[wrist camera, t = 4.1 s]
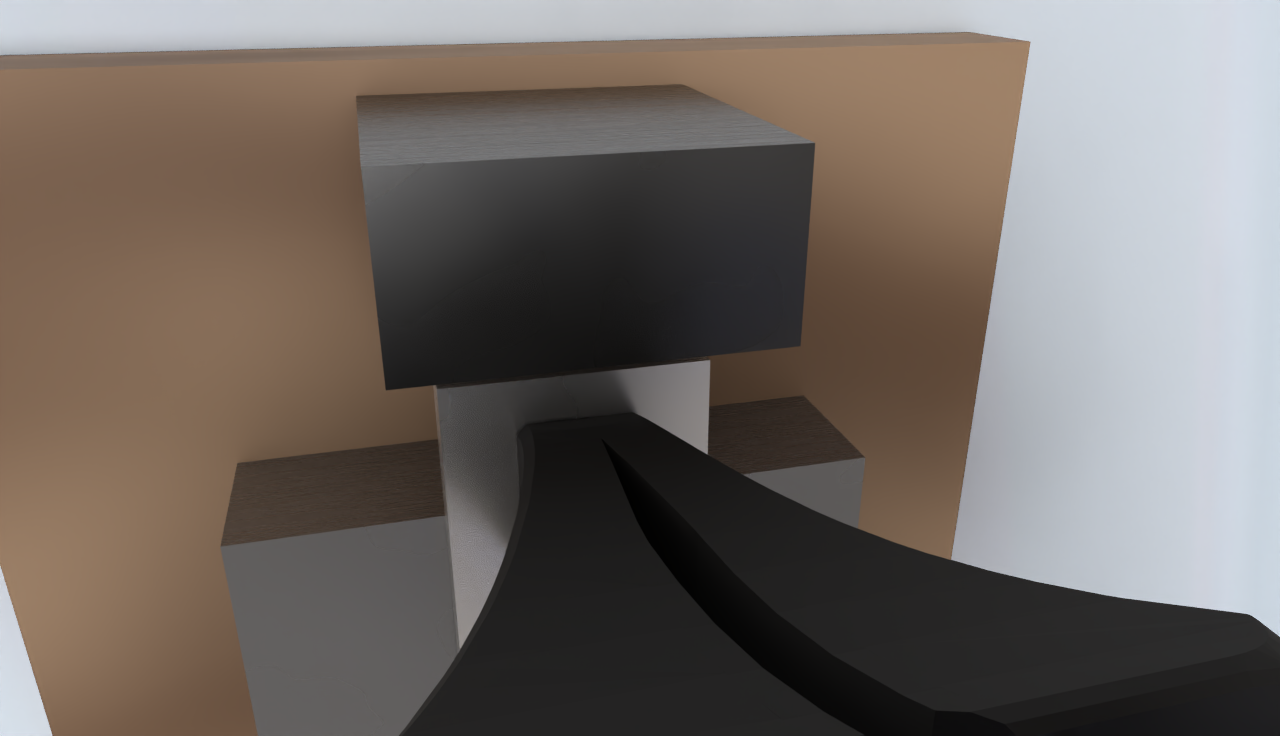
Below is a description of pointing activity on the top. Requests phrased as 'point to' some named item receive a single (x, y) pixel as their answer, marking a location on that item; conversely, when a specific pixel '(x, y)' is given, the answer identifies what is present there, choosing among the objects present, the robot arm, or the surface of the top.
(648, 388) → the grey flat bar
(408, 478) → the clamp block
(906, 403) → the board
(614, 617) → the robot arm
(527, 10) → the top surface
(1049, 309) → the top surface
